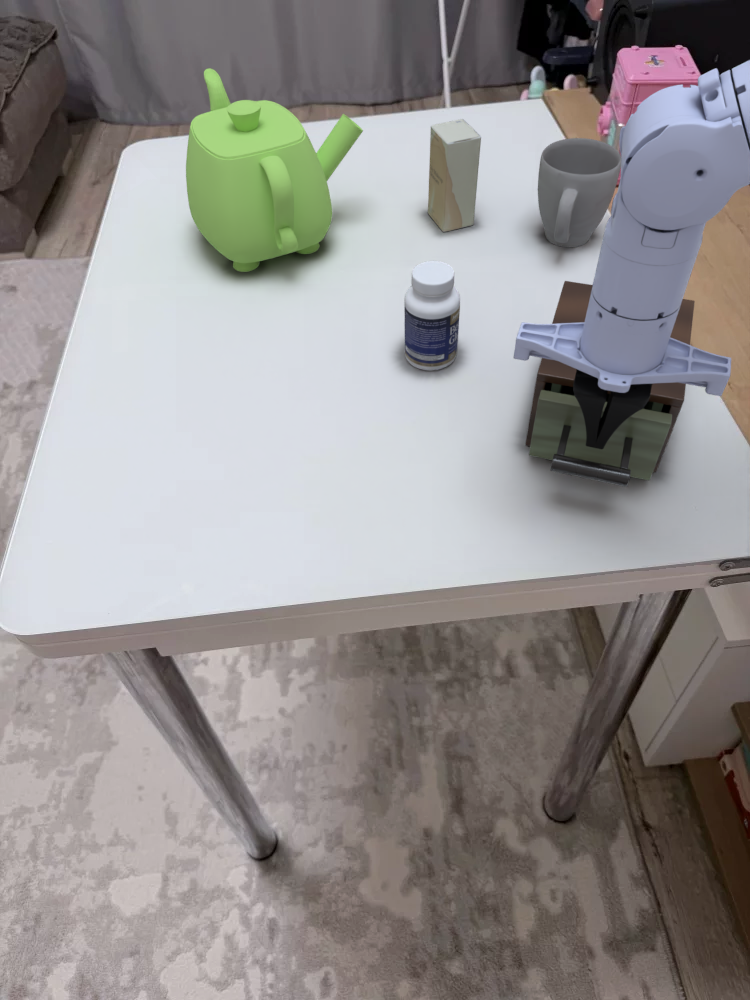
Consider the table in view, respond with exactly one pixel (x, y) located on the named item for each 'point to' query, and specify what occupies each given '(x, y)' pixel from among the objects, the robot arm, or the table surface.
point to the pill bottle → (431, 316)
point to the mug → (576, 188)
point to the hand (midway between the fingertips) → (596, 439)
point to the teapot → (260, 178)
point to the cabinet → (555, 372)
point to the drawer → (620, 459)
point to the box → (453, 174)
